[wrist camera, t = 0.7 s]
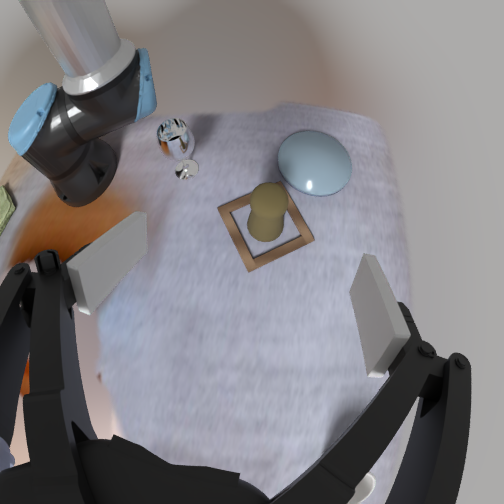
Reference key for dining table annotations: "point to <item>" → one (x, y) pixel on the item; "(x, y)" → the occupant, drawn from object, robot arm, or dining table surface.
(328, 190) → the saucer
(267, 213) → the cork
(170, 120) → the wineglass
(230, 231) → the walnut frame
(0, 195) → the washcloth
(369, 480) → the dixie cup
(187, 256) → the dining table surface
